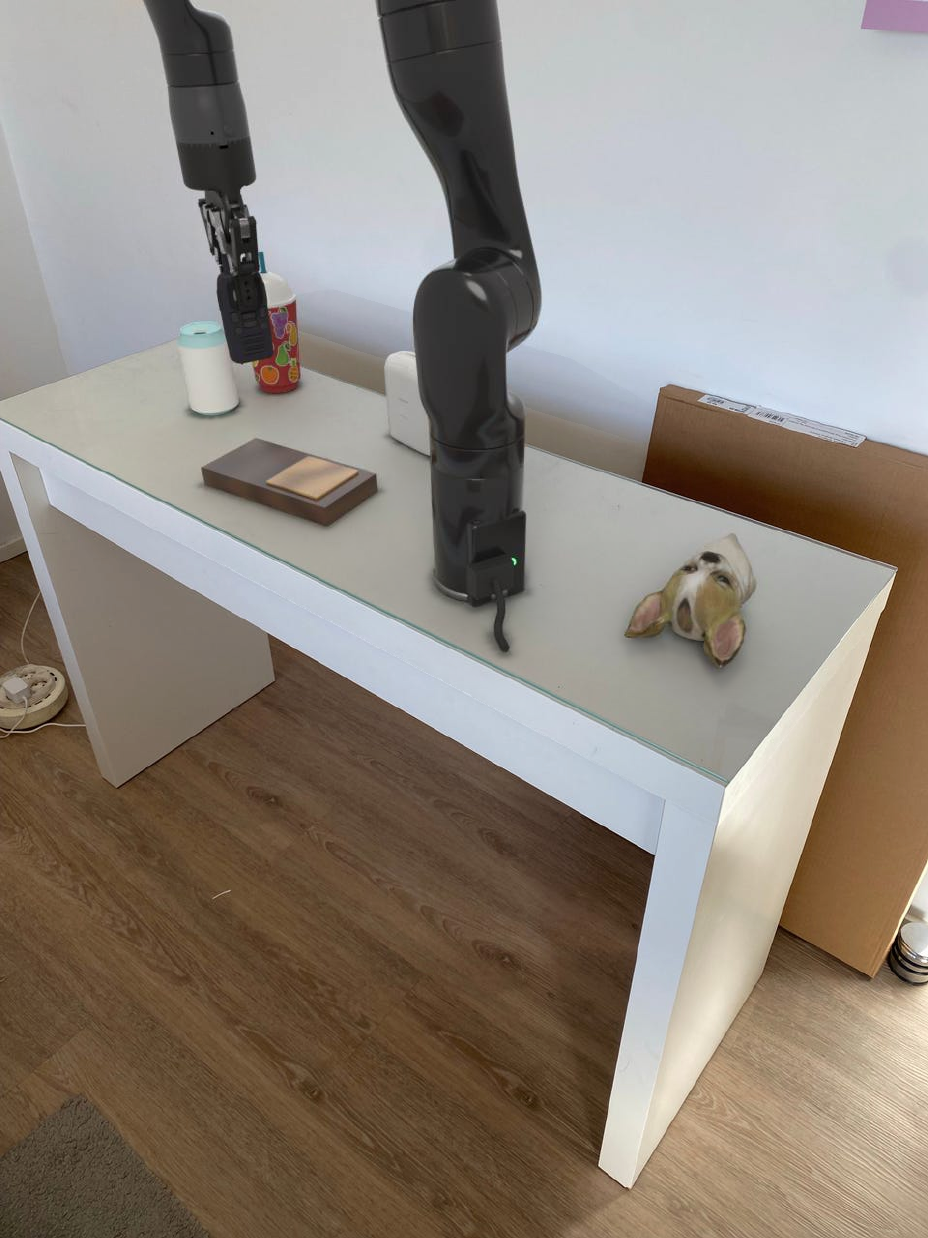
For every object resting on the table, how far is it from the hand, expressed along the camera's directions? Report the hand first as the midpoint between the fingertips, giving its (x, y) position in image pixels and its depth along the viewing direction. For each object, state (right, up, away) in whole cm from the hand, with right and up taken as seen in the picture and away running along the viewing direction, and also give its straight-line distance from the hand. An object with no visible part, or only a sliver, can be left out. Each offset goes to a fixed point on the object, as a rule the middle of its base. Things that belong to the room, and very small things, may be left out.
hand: (241, 303), depth 103 cm
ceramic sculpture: (+48, -37, -13) cm, 62 cm away
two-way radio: (0, -5, +4) cm, 6 cm away
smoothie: (-4, 0, +39) cm, 39 cm away
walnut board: (+3, -19, +12) cm, 23 cm away
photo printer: (+19, -12, +22) cm, 31 cm away
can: (-12, -5, +32) cm, 35 cm away
